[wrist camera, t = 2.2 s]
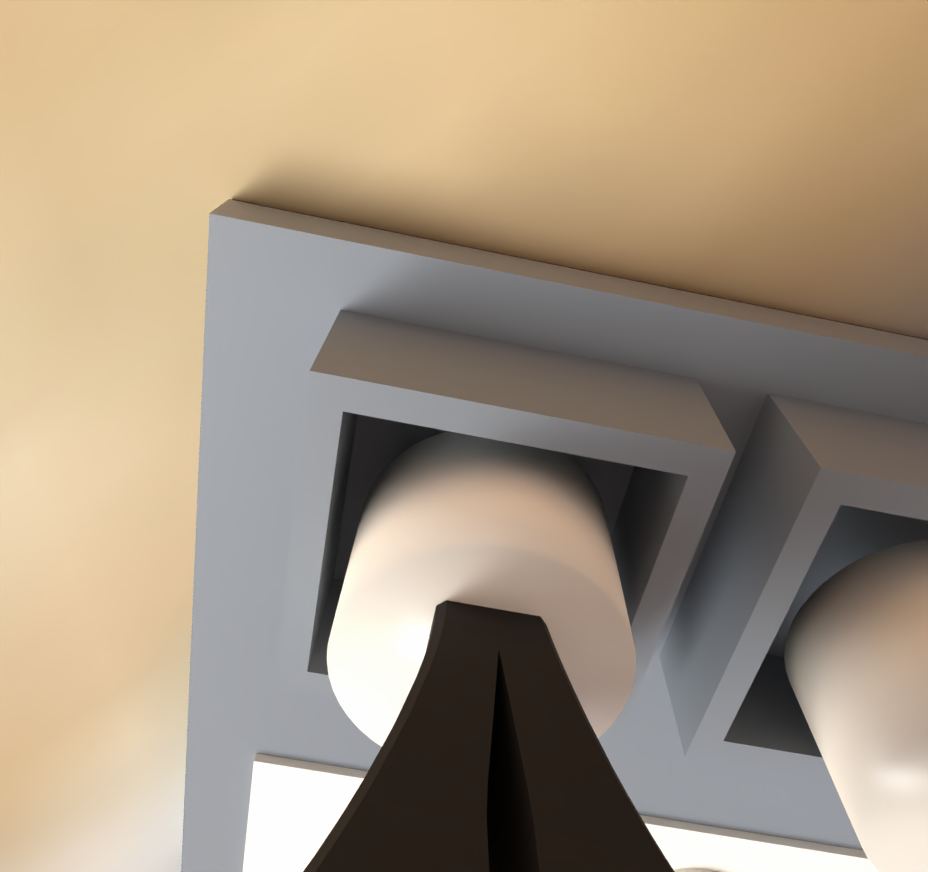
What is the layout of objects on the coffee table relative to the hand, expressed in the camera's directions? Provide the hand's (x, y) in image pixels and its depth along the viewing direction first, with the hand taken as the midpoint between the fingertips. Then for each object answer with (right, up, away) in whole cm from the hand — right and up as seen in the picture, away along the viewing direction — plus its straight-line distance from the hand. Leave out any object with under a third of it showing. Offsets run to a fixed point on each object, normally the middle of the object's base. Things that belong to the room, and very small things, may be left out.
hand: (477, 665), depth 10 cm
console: (+6, -3, +7) cm, 10 cm away
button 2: (0, +1, +3) cm, 3 cm away
